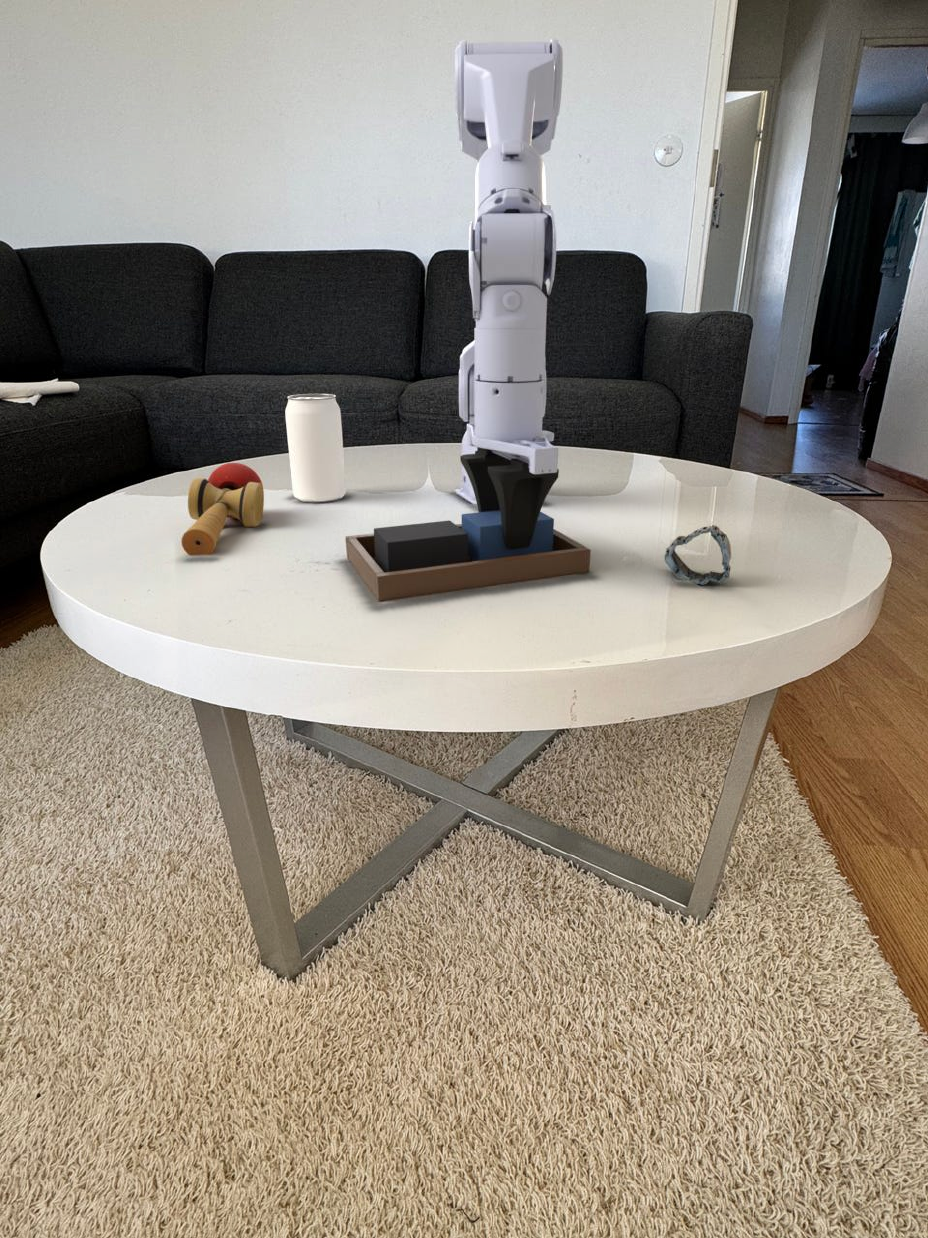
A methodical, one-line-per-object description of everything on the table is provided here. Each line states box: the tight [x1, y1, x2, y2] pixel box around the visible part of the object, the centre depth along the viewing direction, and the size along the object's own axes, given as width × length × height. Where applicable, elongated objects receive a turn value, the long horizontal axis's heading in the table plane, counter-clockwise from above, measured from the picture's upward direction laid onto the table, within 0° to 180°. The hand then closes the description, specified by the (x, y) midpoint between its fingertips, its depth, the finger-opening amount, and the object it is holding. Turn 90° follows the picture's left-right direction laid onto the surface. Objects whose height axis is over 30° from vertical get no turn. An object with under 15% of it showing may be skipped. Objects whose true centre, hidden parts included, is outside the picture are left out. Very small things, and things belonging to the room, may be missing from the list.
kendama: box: [180, 462, 265, 556], centre depth 74 cm, size 8×6×18 cm
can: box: [284, 393, 347, 504], centre depth 87 cm, size 6×6×12 cm
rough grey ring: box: [664, 524, 732, 586], centre depth 60 cm, size 3×5×5 cm
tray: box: [345, 523, 592, 603], centre depth 63 cm, size 12×19×2 cm, turn 111°
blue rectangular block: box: [461, 510, 555, 561], centre depth 64 cm, size 4×7×4 cm, turn 111°
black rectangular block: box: [373, 520, 468, 573], centre depth 62 cm, size 4×7×4 cm, turn 111°
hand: (506, 539), depth 64 cm, fingers closed on blue rectangular block, 4 cm apart
